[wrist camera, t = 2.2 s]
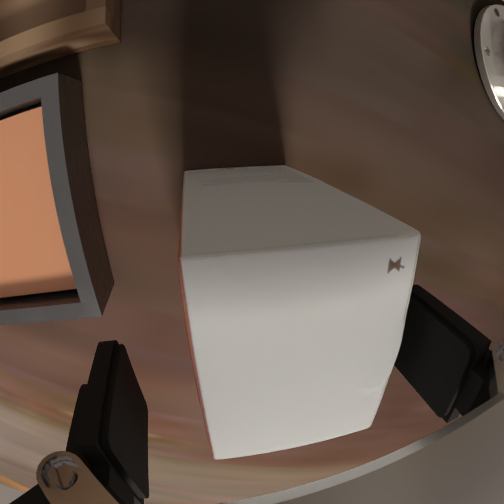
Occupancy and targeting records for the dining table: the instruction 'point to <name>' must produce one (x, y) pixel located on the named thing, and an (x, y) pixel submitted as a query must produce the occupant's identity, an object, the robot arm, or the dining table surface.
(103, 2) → the walnut trough
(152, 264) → the dining table surface
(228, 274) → the small box
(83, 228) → the frame
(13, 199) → the spring pad
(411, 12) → the dining table surface
